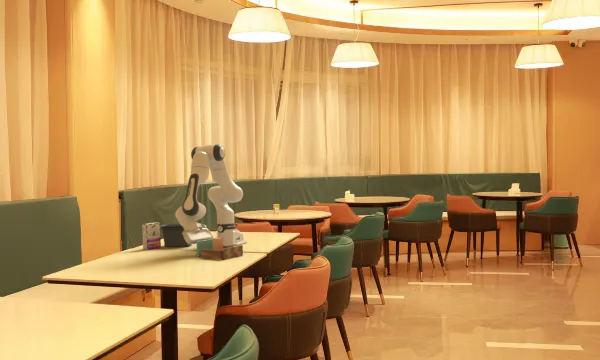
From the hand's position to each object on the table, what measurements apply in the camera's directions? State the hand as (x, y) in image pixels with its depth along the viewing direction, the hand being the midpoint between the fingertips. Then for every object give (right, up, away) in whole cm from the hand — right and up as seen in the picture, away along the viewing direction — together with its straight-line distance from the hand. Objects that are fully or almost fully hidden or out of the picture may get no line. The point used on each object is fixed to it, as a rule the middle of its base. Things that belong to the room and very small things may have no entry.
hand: (205, 246), depth 384 cm
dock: (+11, -5, -7) cm, 14 cm away
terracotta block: (+8, -3, -5) cm, 10 cm away
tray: (+7, -5, -5) cm, 10 cm away
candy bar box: (-39, -5, +33) cm, 52 cm away
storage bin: (-24, -4, +45) cm, 51 cm away
